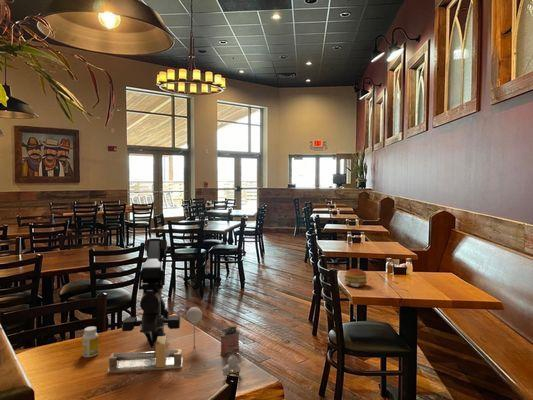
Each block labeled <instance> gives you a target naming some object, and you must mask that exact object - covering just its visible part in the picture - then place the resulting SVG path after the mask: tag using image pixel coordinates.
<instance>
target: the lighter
mask: <svg viewBox="0 0 533 400" xmlns="http://www.w3.org/2000/svg"><path fill="white" fill-rule="evenodd" d="M237 327H238V326H237V325H235V324H234V325H231V324H230V325H228V327H223V328H222V329H221V330H222V333H221V334H220V352H219V353H220V357H223V358H225V357H230V355H231V354H232V355H233V353H234V355H235V354H236V353H238V352H240V347H239V345H240V343H239V341H240V335H239V334H240V330H238V329H237Z"/></svg>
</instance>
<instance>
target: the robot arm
mask: <svg viewBox="0 0 533 400" xmlns="http://www.w3.org/2000/svg"><path fill="white" fill-rule="evenodd" d="M166 251H168V240H166V239H164V238H162V237H149V238H147V239H144V252H146V261H145V262H143V263H142V266H141V269H139V276H138V277H139V278H138V279H139V281H138V290H140V291H141V290H142V292H143V293H142V296H141V299H140V303H139V306H140V309H141V310H142V314H141V315H142V316H141V320H140V319H139V320H138V319H137V317H136V316H132V317H125V318H124V319H123V322H122V323H121V331H122V332H132V331H133V330H134V329H135V327H140V329H139V332H140V333H141V334H142V333H143V334H144V335H145V337H146V341H147V342H148V345H149V347H150V349H154V346H155V344H156V341H157V337H158V336H166V332H164V331H165V327H164V326H167V328H168V329H170V330H177V329H180V327H181V316H180V315H178V314H177V315H176V314H175V315H170V312H169V311H168V308H166V302H165V301H164V299H163V298H162V289H163V288H164V286H165V283H166V272H165V271H164V268H162V260H164V259H163V258H165V255H166Z"/></svg>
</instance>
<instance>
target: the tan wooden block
mask: <svg viewBox="0 0 533 400" xmlns="http://www.w3.org/2000/svg"><path fill="white" fill-rule="evenodd" d="M167 349H168V348H167V336H166V335H165V336H158V337H157V341H155V351H156V367H165V364H166V358H165V350H167Z"/></svg>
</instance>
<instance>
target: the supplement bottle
mask: <svg viewBox="0 0 533 400" xmlns="http://www.w3.org/2000/svg"><path fill="white" fill-rule="evenodd" d="M97 331H98V330H97V326H87V327H85V328H84V331H83V332H84V334H83V335H82V337H81V338H82V339H81V341H82V343H81V345H82V349H81V350H82V351H81V352H82V356H83V357H84V358H92V357H95V356H97V355H98V354H99V333H98V332H97Z"/></svg>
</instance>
